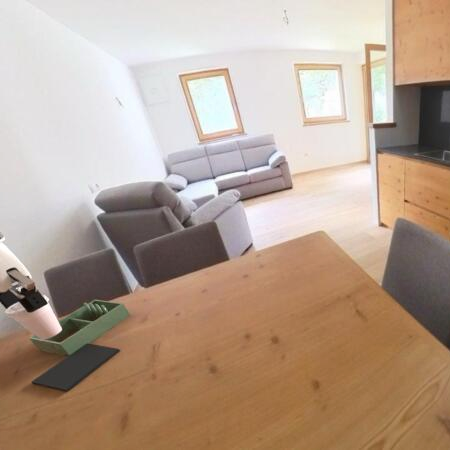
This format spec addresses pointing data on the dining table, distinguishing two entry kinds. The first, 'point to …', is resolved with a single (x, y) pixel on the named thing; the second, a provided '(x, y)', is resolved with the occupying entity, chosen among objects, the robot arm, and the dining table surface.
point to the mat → (75, 367)
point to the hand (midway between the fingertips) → (27, 306)
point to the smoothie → (36, 319)
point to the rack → (83, 326)
